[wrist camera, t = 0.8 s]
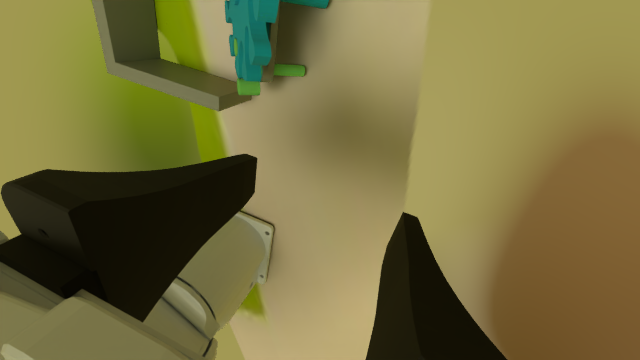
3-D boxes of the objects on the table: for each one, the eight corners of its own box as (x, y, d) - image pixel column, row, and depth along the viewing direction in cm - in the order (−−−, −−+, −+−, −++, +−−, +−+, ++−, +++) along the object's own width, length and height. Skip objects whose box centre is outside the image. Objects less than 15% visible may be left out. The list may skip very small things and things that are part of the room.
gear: (207, -155, 14) (246, -203, 7) (311, -116, 16) (407, -127, 10) (217, 61, 21) (241, 131, 15) (288, 66, 23) (336, 127, 17)
